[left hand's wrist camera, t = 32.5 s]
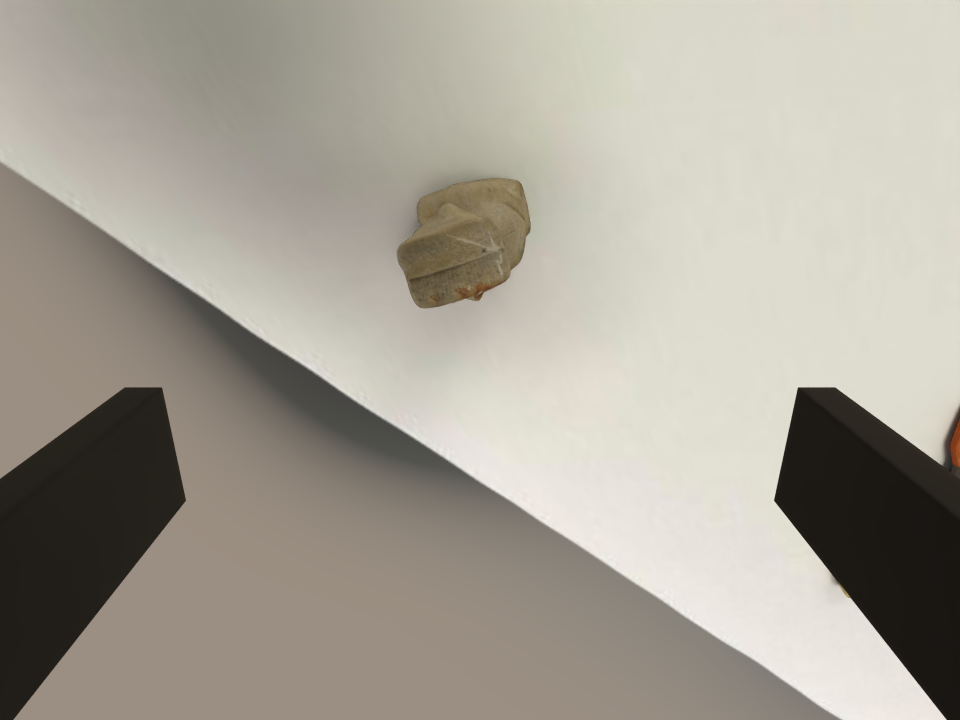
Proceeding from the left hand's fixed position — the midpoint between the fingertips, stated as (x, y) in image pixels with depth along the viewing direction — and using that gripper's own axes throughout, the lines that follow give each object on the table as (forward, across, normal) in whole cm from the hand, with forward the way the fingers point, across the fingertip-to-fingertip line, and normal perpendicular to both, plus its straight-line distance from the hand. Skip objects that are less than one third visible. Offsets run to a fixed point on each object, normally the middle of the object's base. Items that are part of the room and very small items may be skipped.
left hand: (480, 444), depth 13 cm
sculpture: (+31, 0, -1) cm, 31 cm away
